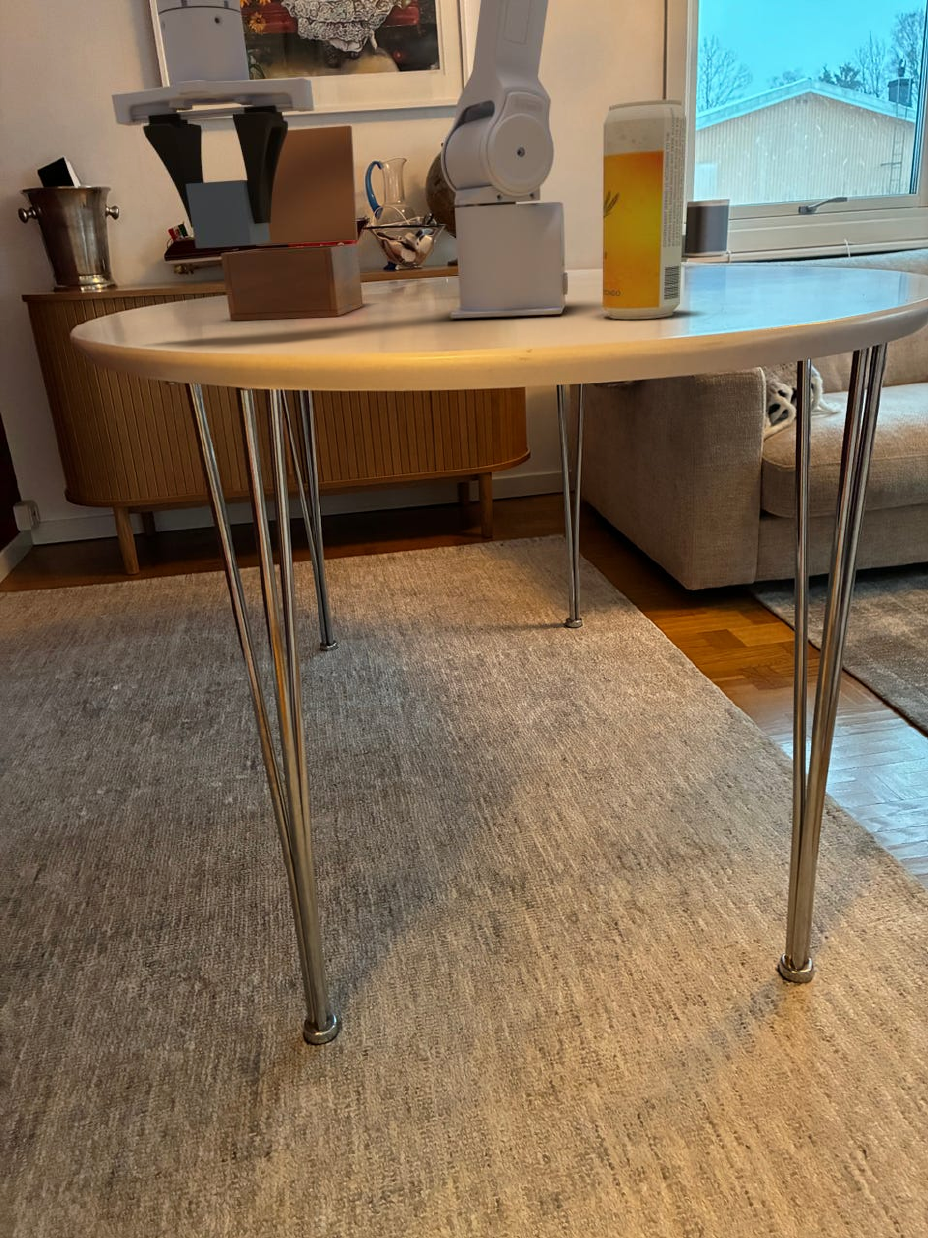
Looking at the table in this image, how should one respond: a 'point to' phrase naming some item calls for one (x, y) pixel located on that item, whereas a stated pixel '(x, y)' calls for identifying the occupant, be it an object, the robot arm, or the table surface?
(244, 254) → the chest
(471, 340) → the table surface
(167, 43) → the robot arm
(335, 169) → the lid
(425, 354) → the table surface
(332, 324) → the table surface
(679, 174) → the beer can
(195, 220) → the block
